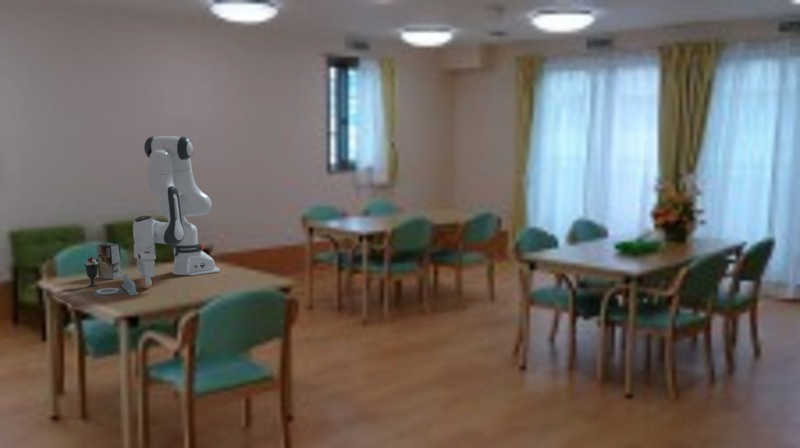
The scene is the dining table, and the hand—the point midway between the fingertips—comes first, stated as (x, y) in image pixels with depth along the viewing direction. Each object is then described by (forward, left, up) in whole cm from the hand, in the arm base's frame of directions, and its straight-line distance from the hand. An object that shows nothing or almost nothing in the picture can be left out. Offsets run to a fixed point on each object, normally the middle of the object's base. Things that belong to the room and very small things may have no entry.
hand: (146, 283), depth 338 cm
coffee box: (+10, -34, -2) cm, 36 cm away
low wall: (+7, 0, -2) cm, 7 cm away
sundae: (+20, -17, -2) cm, 26 cm away
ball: (0, 0, 0) cm, 0 cm away
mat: (+16, 0, -2) cm, 16 cm away
